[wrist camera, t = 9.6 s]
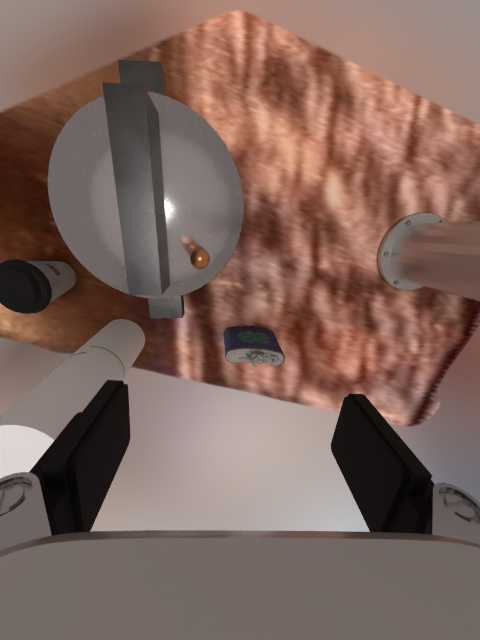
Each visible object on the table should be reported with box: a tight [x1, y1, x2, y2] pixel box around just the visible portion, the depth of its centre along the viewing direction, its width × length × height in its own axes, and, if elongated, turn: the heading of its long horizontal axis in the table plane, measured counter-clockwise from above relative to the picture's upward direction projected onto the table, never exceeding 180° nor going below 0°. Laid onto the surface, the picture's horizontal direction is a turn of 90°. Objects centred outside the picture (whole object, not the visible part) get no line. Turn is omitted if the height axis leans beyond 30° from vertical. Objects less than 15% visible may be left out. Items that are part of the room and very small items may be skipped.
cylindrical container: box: [0, 319, 145, 478], centre depth 33 cm, size 7×7×25 cm
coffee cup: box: [0, 259, 76, 314], centre depth 36 cm, size 7×7×10 cm
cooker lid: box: [48, 83, 244, 299], centre depth 24 cm, size 19×19×6 cm
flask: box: [224, 326, 285, 367], centre depth 41 cm, size 9×3×11 cm, turn 84°
